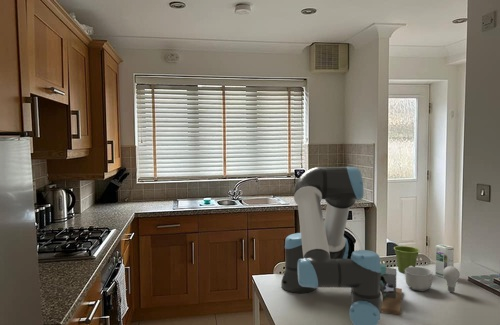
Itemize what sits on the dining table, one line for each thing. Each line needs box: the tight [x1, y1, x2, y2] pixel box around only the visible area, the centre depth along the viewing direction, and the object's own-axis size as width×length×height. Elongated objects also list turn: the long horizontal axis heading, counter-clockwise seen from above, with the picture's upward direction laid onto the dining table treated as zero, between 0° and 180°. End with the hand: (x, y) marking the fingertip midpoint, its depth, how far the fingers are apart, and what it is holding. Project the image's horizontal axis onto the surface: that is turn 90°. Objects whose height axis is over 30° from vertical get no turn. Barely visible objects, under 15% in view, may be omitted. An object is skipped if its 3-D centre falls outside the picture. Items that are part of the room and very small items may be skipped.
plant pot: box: [393, 245, 420, 274], centre depth 177 cm, size 12×12×11 cm
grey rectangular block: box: [386, 267, 397, 299], centre depth 147 cm, size 12×8×10 cm, turn 66°
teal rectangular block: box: [381, 263, 387, 297], centre depth 146 cm, size 5×14×12 cm, turn 156°
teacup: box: [404, 266, 433, 292], centre depth 157 cm, size 14×11×8 cm
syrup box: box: [434, 244, 455, 279], centre depth 170 cm, size 6×6×14 cm
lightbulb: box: [443, 266, 461, 293], centre depth 151 cm, size 6×6×11 cm
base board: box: [380, 287, 403, 316], centre depth 144 cm, size 16×23×2 cm
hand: (376, 269), depth 128 cm, fingers closed
